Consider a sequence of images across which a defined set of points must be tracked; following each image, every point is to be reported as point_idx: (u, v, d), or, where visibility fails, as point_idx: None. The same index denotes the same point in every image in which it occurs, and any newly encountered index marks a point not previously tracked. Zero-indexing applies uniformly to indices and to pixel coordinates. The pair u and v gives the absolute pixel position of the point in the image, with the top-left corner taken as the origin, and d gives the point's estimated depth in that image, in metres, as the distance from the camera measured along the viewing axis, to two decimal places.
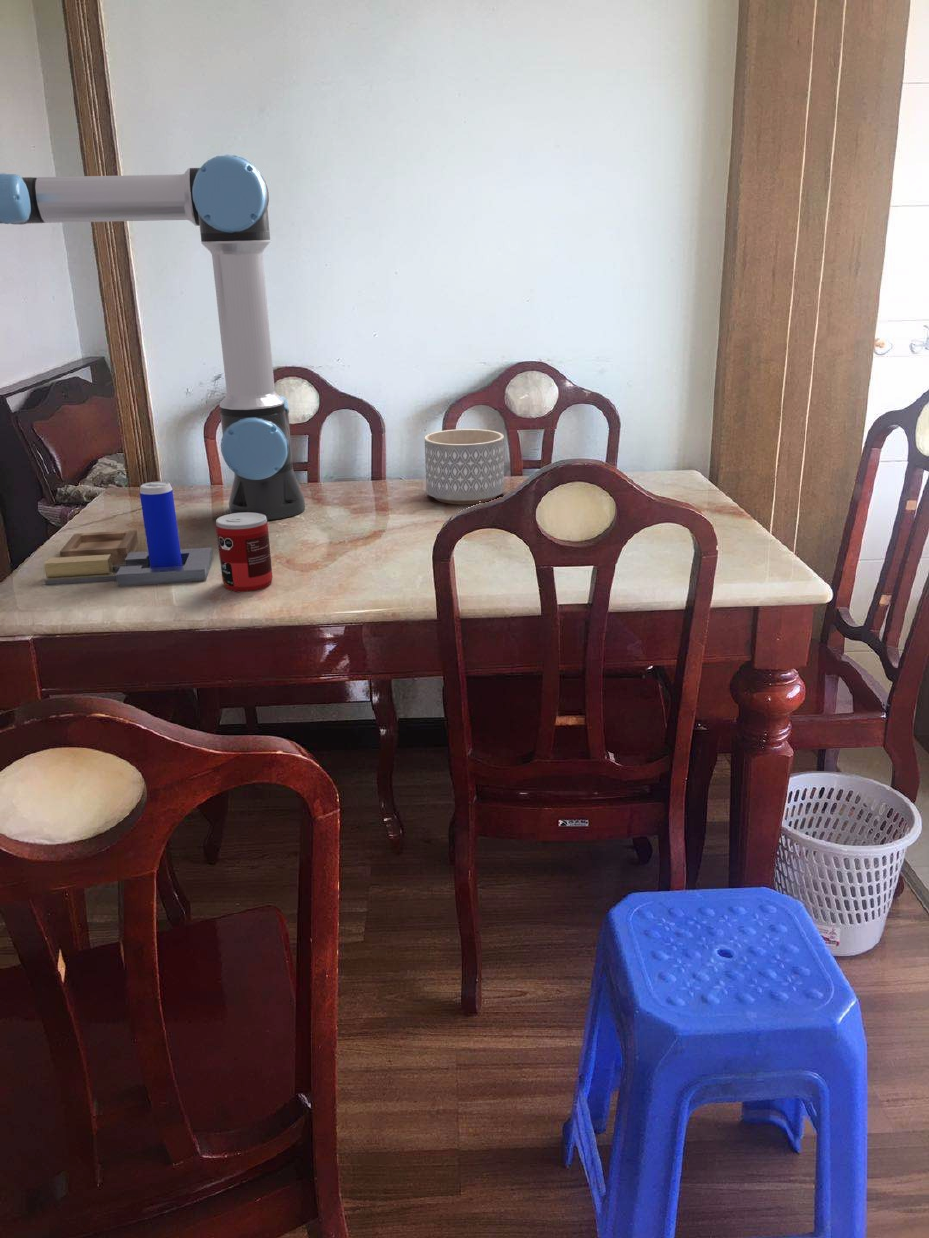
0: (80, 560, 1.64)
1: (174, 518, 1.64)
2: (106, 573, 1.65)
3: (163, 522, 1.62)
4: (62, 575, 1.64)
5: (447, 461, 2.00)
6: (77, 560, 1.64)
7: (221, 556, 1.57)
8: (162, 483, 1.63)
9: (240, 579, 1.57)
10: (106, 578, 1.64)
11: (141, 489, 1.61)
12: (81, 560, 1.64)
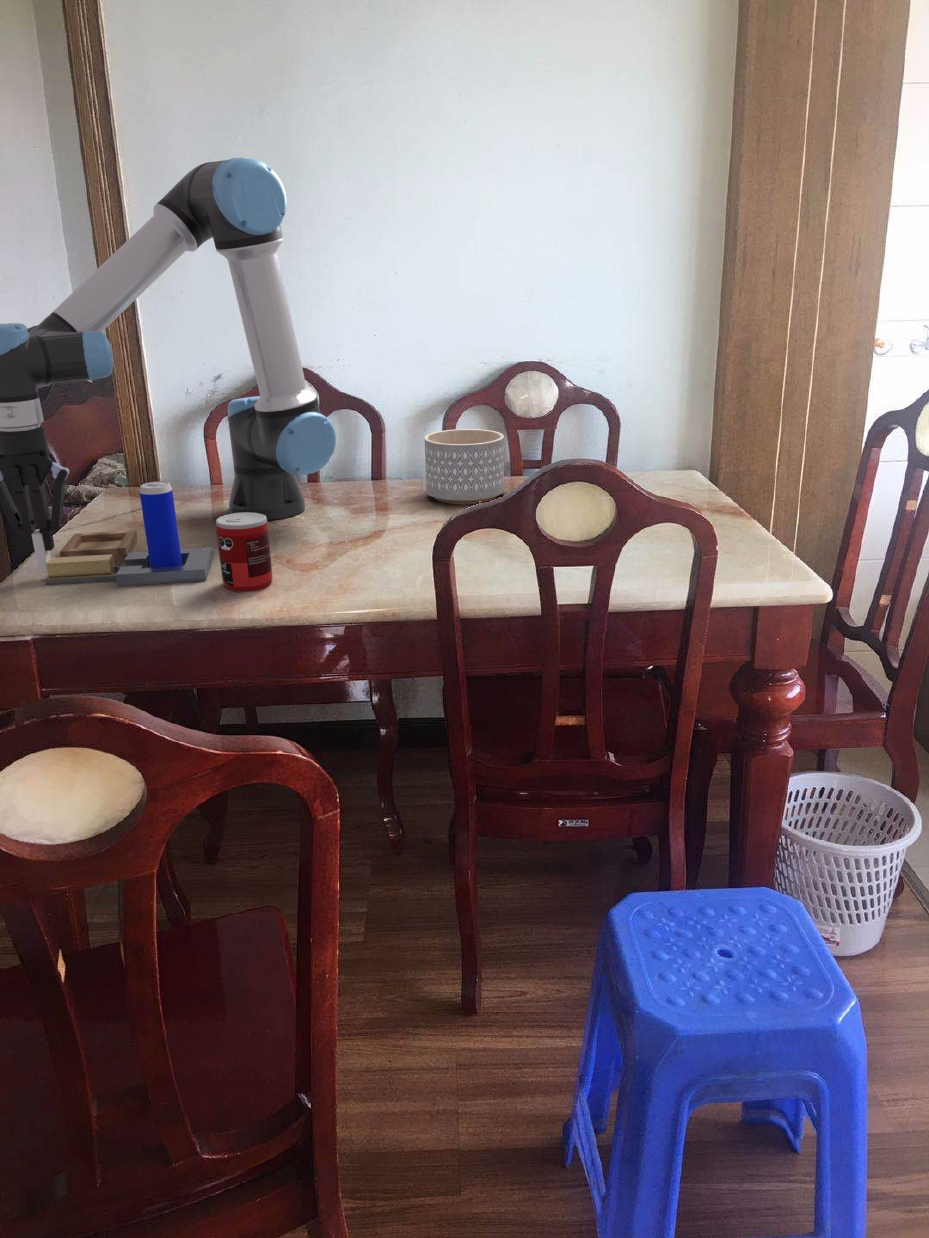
0: (81, 560, 1.64)
1: (174, 518, 1.64)
2: (108, 573, 1.65)
3: (163, 522, 1.62)
4: (64, 575, 1.64)
5: (447, 461, 2.00)
6: (79, 560, 1.64)
7: (221, 556, 1.57)
8: (162, 483, 1.63)
9: (240, 579, 1.57)
10: (106, 578, 1.64)
11: (141, 489, 1.61)
12: (82, 560, 1.64)
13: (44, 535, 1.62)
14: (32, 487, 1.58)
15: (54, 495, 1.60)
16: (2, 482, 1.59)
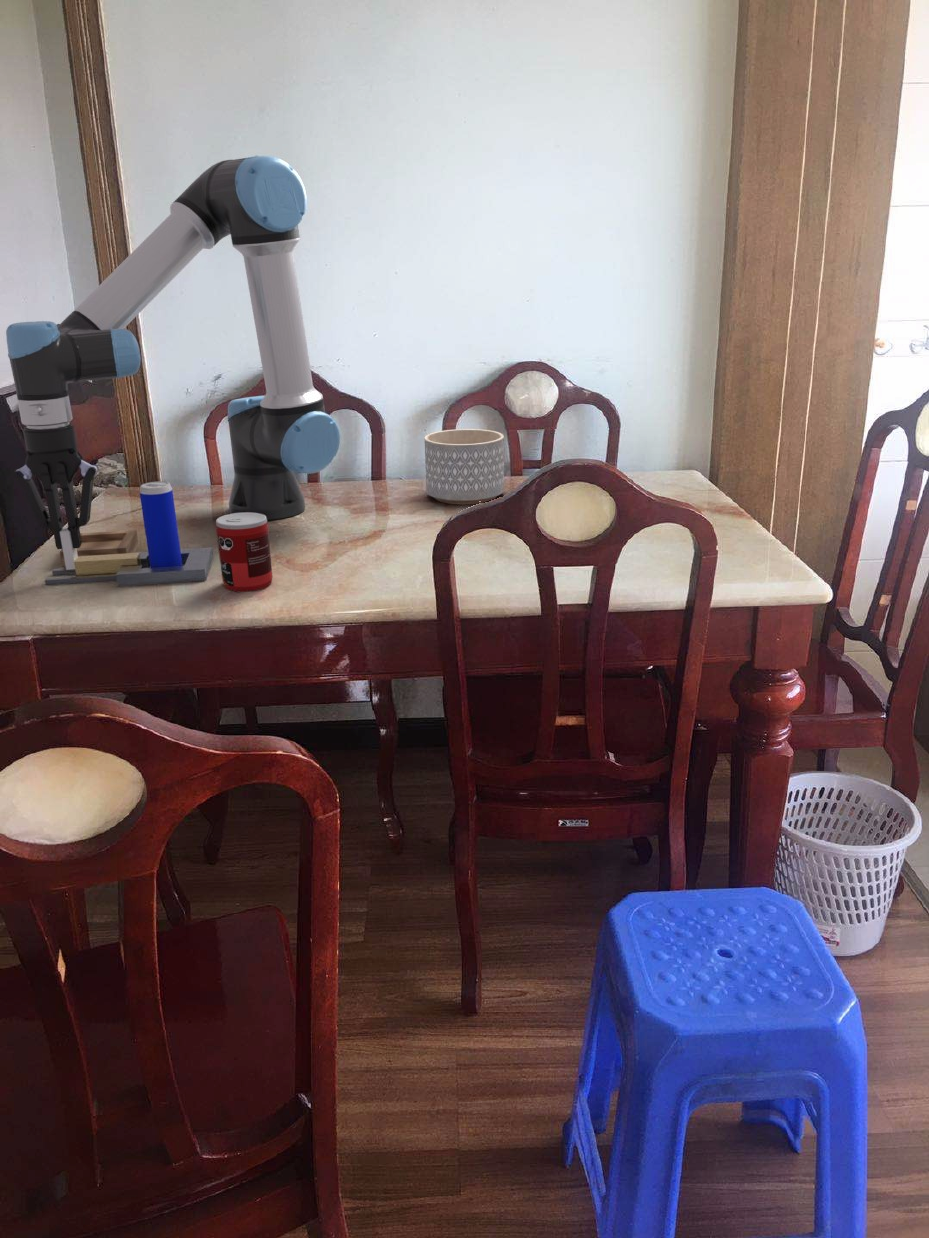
0: (109, 559, 1.64)
1: (174, 518, 1.64)
2: None
3: (163, 522, 1.62)
4: (91, 574, 1.65)
5: (447, 461, 2.00)
6: (106, 558, 1.65)
7: (221, 556, 1.57)
8: (162, 483, 1.63)
9: (240, 579, 1.57)
10: (106, 578, 1.64)
11: (141, 489, 1.61)
12: (110, 558, 1.65)
13: (72, 533, 1.62)
14: (61, 485, 1.59)
15: (82, 493, 1.60)
16: (31, 480, 1.60)
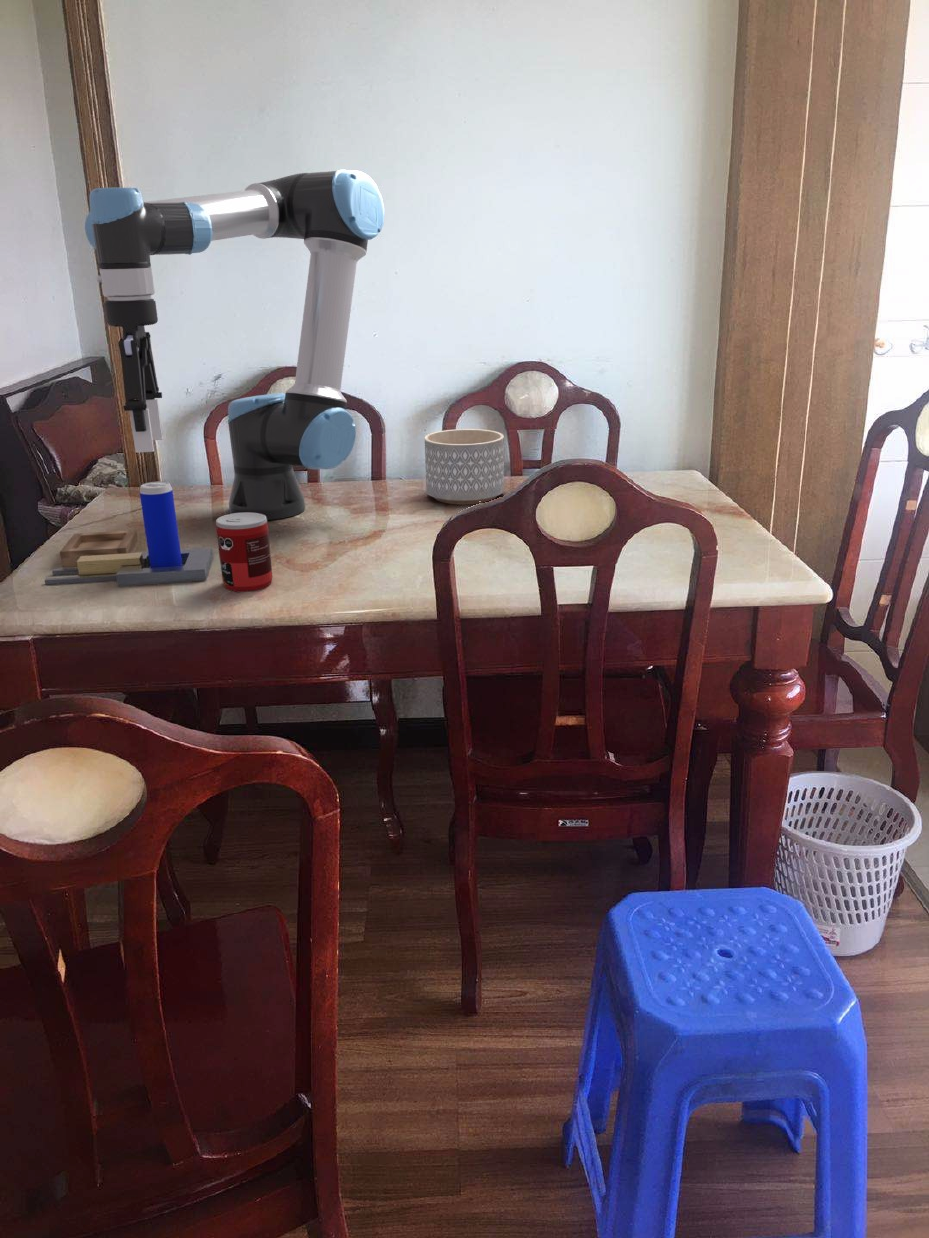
0: (112, 559, 1.64)
1: (174, 518, 1.64)
2: None
3: (163, 522, 1.62)
4: (94, 574, 1.65)
5: (447, 461, 2.00)
6: (109, 558, 1.65)
7: (221, 556, 1.57)
8: (162, 483, 1.63)
9: (240, 579, 1.57)
10: (106, 578, 1.64)
11: (141, 489, 1.61)
12: (113, 558, 1.65)
13: None
14: None
15: None
16: None
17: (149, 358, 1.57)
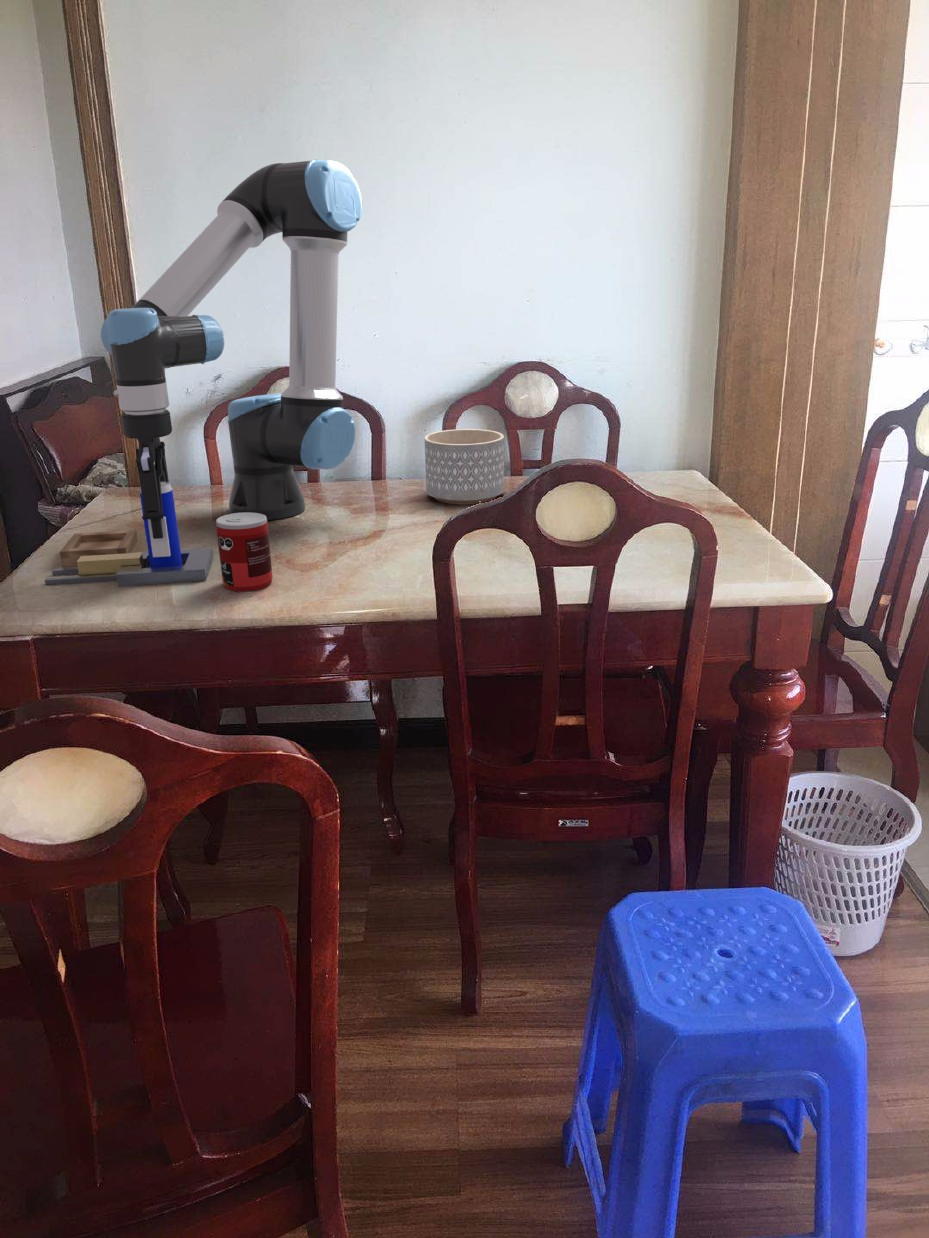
0: (112, 559, 1.64)
1: (174, 518, 1.64)
2: None
3: None
4: (94, 574, 1.65)
5: (447, 461, 2.00)
6: (109, 558, 1.65)
7: (221, 556, 1.57)
8: (162, 483, 1.63)
9: (240, 579, 1.57)
10: (106, 578, 1.64)
11: None
12: (113, 558, 1.65)
13: None
14: None
15: None
16: None
17: (163, 466, 1.63)
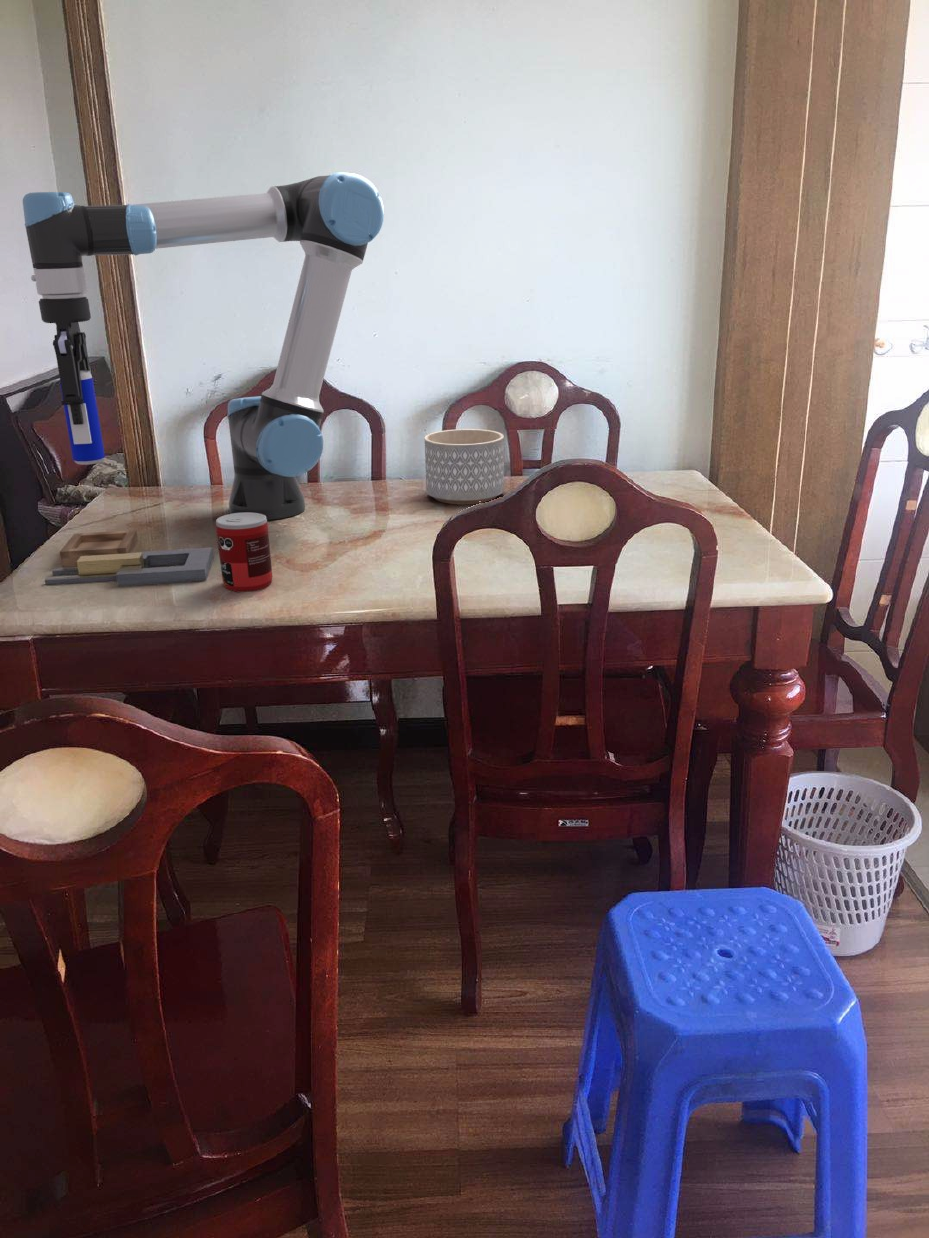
0: (112, 559, 1.64)
1: (94, 406, 1.67)
2: None
3: None
4: (94, 574, 1.65)
5: (447, 461, 2.00)
6: (109, 558, 1.65)
7: (221, 556, 1.57)
8: (82, 372, 1.66)
9: (240, 579, 1.57)
10: (106, 578, 1.64)
11: None
12: (113, 558, 1.65)
13: None
14: None
15: None
16: None
17: (83, 354, 1.65)
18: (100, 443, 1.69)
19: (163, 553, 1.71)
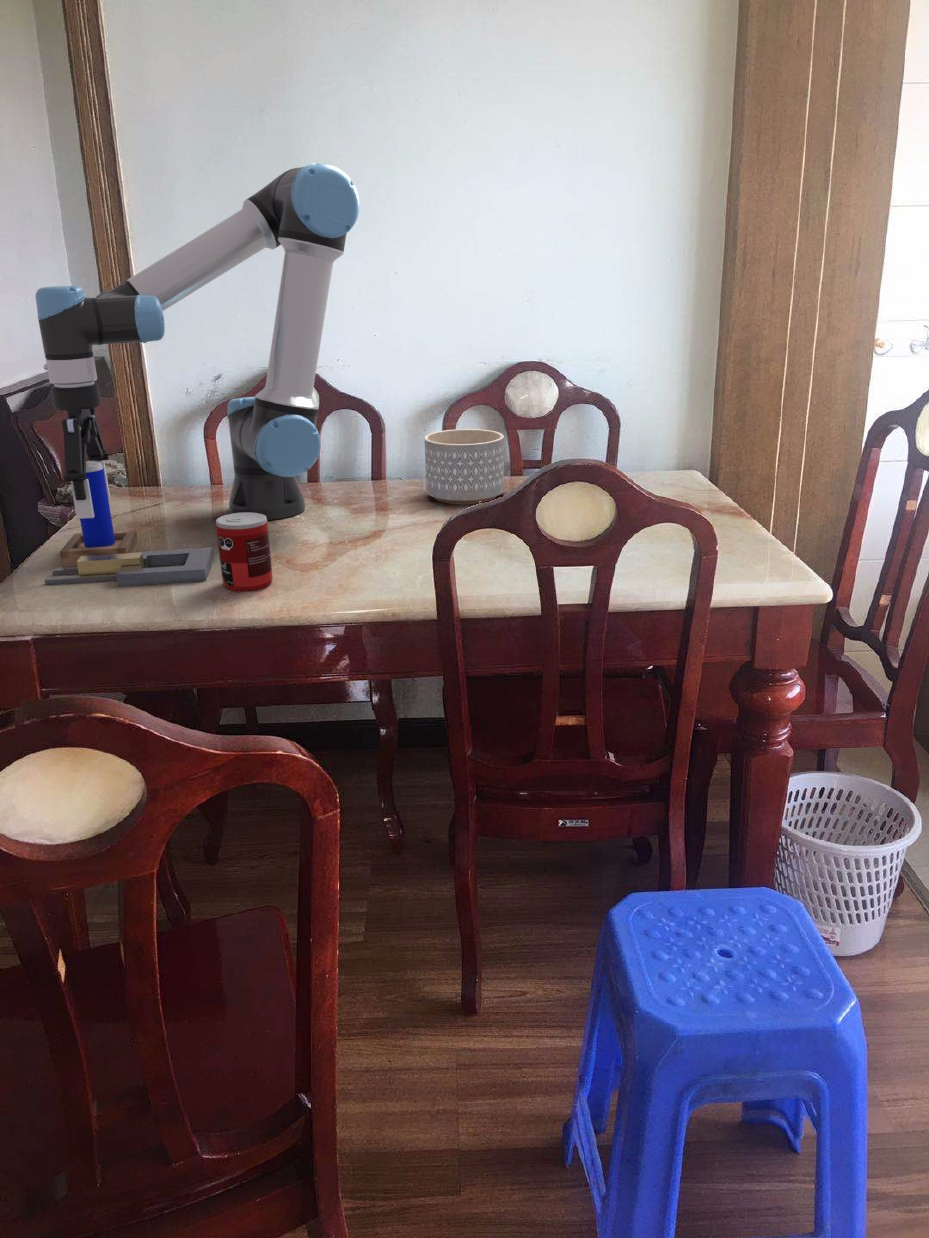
0: (112, 559, 1.64)
1: (105, 495, 1.73)
2: None
3: (94, 499, 1.71)
4: (94, 574, 1.65)
5: (447, 461, 2.00)
6: (109, 558, 1.65)
7: (221, 556, 1.57)
8: (94, 462, 1.72)
9: (240, 579, 1.57)
10: (106, 578, 1.64)
11: None
12: (113, 558, 1.65)
13: None
14: None
15: None
16: None
17: (94, 434, 1.72)
18: (110, 530, 1.75)
19: (163, 553, 1.71)
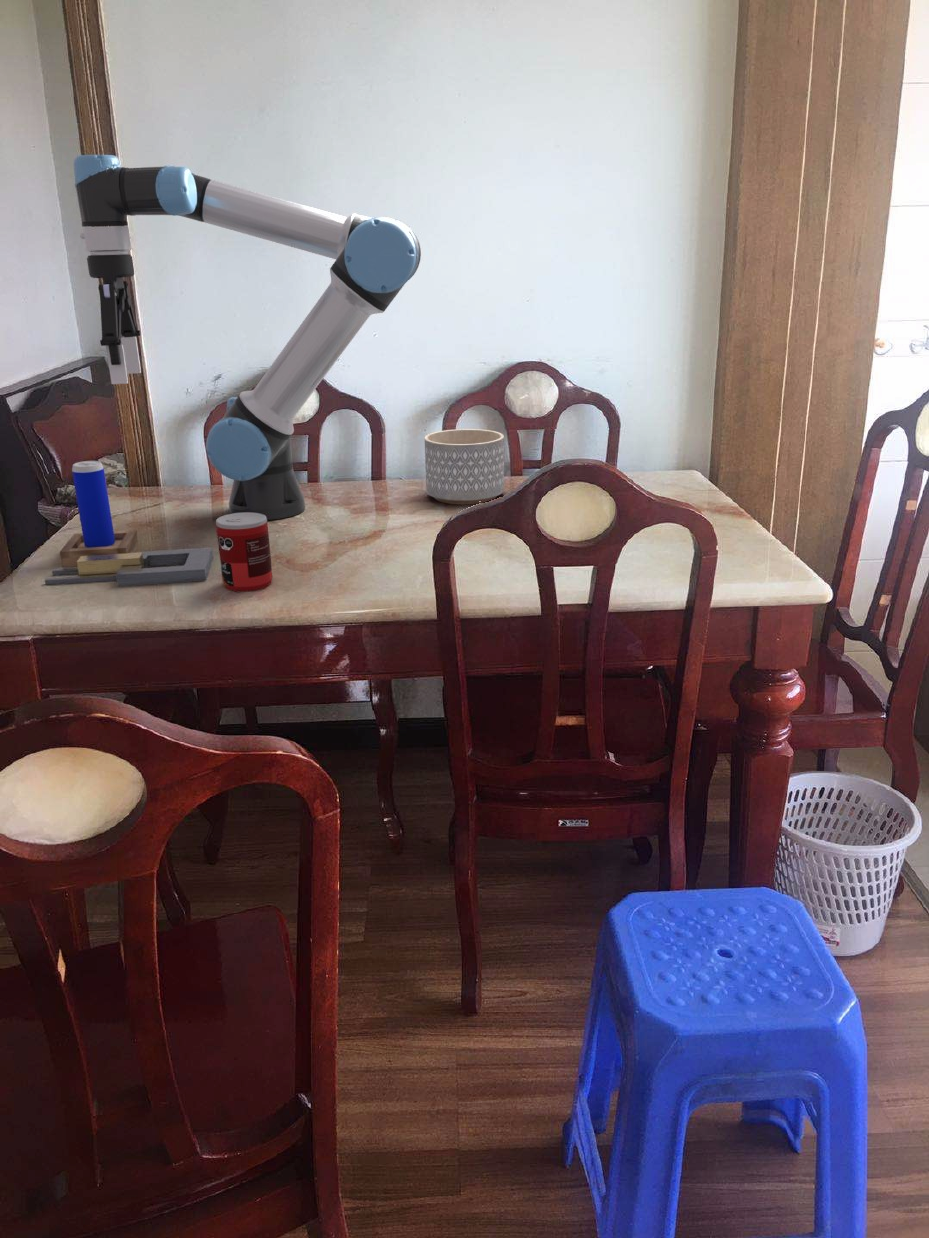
0: (112, 559, 1.64)
1: (105, 495, 1.73)
2: None
3: (94, 499, 1.71)
4: (94, 574, 1.65)
5: (447, 461, 2.00)
6: (109, 558, 1.65)
7: (221, 556, 1.57)
8: (94, 462, 1.72)
9: (240, 579, 1.57)
10: (106, 578, 1.64)
11: (73, 467, 1.70)
12: (113, 558, 1.65)
13: None
14: None
15: None
16: None
17: (127, 306, 1.78)
18: (111, 530, 1.75)
19: (163, 553, 1.71)
